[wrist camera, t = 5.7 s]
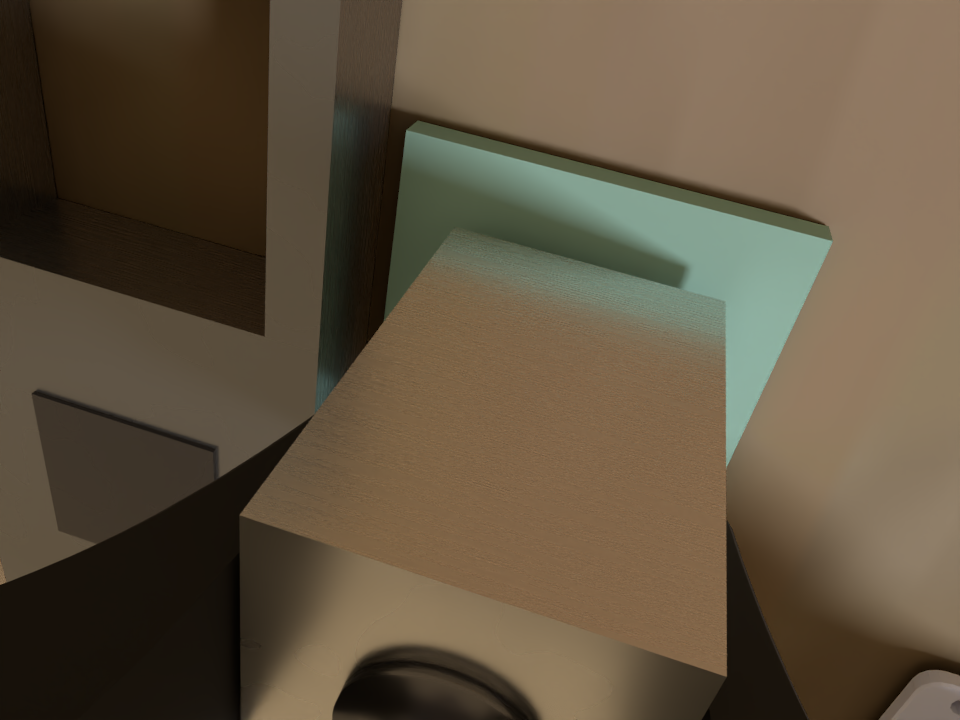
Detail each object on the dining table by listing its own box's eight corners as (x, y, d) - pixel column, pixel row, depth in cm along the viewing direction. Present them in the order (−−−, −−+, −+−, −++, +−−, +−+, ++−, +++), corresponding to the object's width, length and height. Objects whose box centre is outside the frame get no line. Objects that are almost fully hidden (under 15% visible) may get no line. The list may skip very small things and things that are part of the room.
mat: (828, 226, 13) (832, 241, 12) (690, 527, 17) (689, 547, 16) (418, 119, 13) (406, 129, 13) (379, 430, 17) (369, 446, 17)
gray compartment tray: (443, -399, 10) (366, -472, 8) (338, 608, 21) (295, 691, 19) (-107, -495, 11) (-310, -582, 9) (73, 517, 22) (3, 587, 20)
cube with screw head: (725, 300, 12) (727, 697, 6) (643, 503, 15) (591, 921, 9) (455, 226, 13) (228, 530, 7) (420, 434, 15) (233, 785, 10)
